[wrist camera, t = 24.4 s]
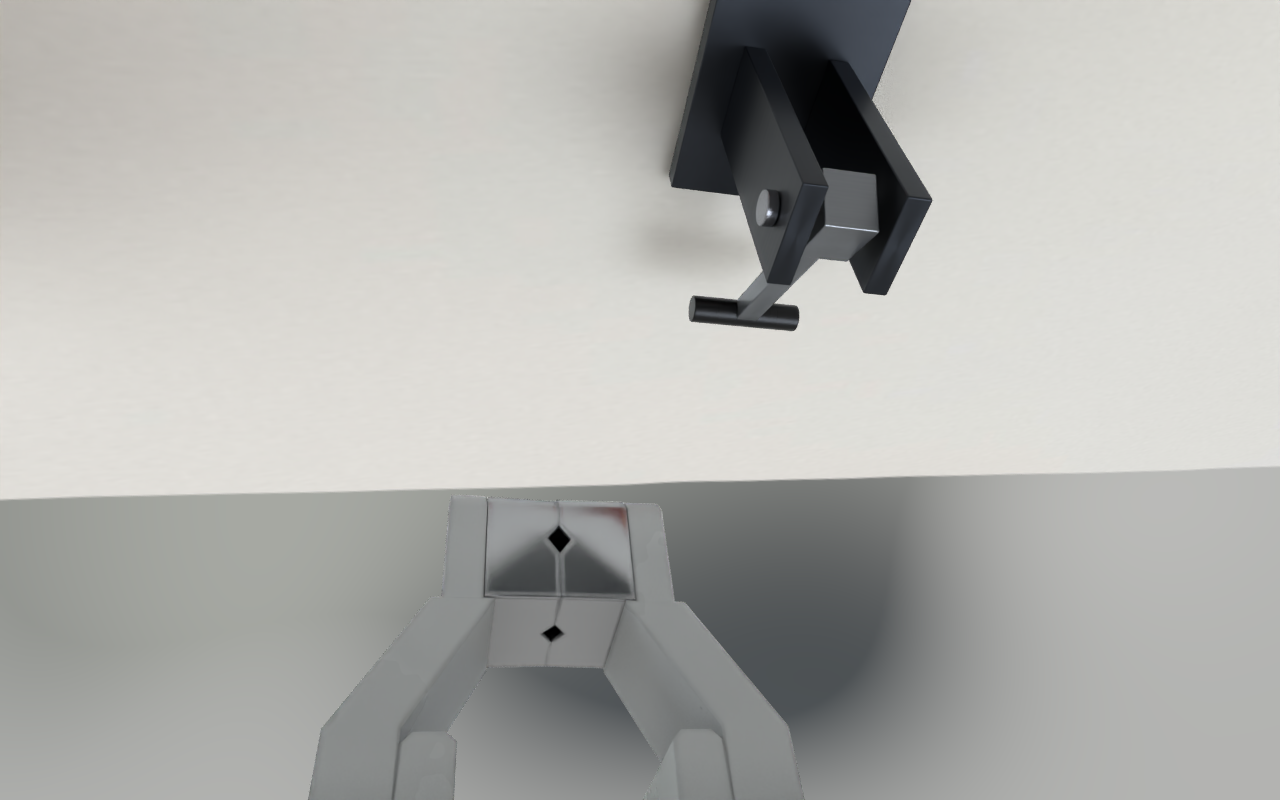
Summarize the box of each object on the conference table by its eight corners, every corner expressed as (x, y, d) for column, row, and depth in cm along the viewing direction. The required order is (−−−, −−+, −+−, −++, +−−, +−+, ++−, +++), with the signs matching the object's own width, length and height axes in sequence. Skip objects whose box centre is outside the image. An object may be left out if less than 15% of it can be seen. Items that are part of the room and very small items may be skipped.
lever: (789, 301, 45) (790, 344, 44) (688, 291, 43) (688, 335, 43) (917, 179, 32) (921, 237, 32) (780, 161, 31) (781, 220, 30)
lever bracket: (824, 194, 45) (896, 356, 36) (668, 175, 43) (703, 339, 34) (903, -11, 38) (1019, 127, 29) (720, -44, 36) (781, 92, 27)
